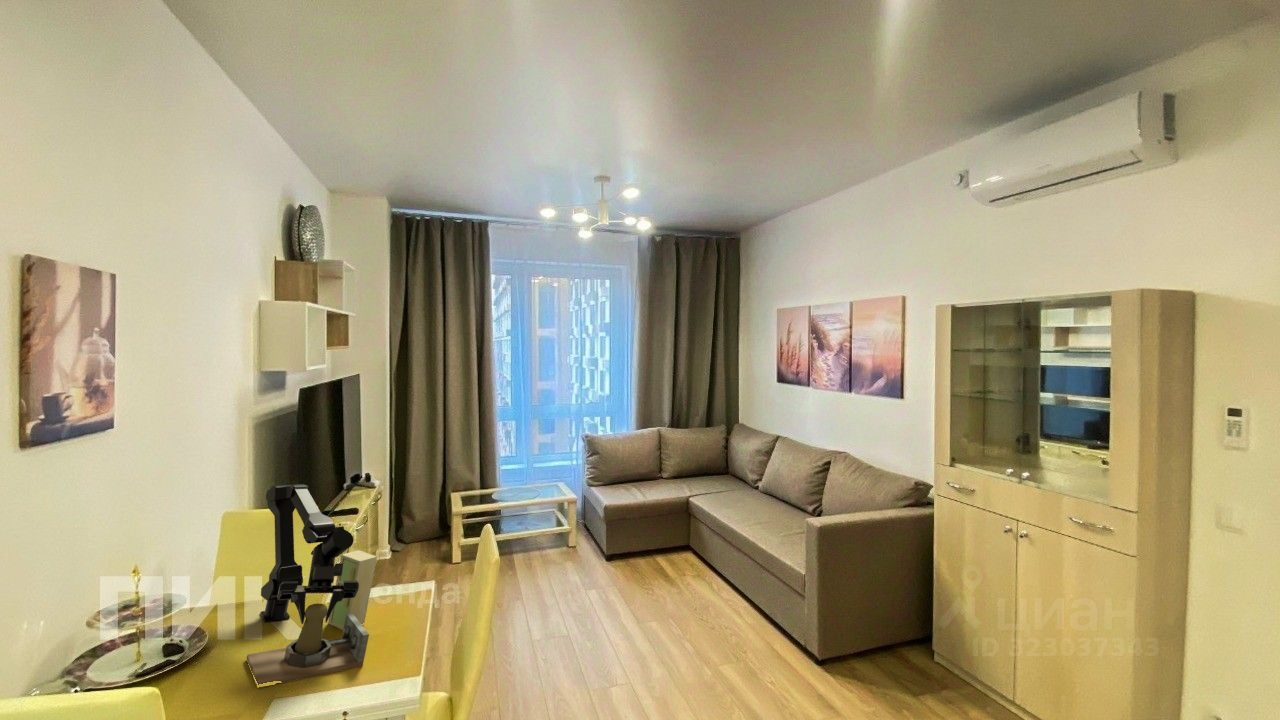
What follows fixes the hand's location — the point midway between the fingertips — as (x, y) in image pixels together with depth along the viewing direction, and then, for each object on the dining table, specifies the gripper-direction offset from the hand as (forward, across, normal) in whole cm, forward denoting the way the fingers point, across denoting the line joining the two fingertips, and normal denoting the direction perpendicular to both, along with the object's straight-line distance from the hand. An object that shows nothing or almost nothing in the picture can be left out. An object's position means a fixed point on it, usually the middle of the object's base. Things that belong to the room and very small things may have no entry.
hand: (314, 622), depth 146 cm
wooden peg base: (+7, 0, +9) cm, 11 cm away
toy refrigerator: (-7, +10, +24) cm, 27 cm away
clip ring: (+6, +3, +8) cm, 10 cm away
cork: (+4, 0, +6) cm, 7 cm away
